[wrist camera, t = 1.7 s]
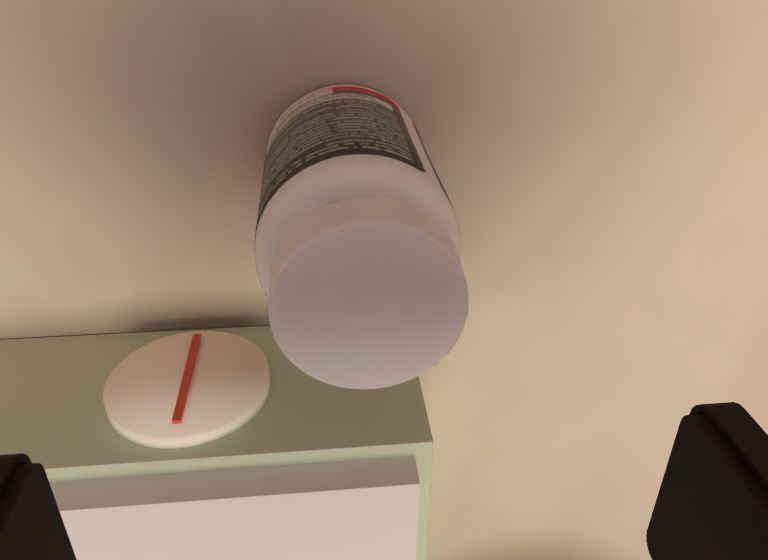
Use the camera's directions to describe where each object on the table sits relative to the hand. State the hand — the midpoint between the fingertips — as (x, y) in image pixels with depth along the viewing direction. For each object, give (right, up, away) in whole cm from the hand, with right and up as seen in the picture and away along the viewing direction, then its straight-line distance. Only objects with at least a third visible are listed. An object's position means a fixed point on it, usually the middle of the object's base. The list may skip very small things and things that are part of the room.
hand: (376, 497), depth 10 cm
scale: (-6, -4, +16) cm, 18 cm away
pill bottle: (-1, +7, +10) cm, 13 cm away
